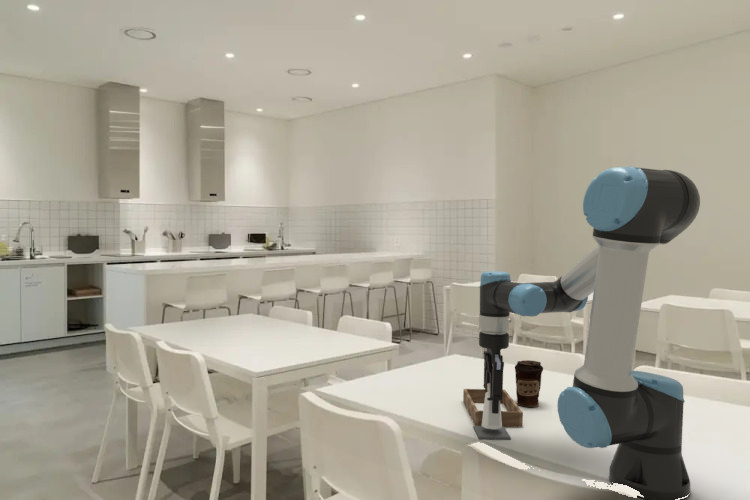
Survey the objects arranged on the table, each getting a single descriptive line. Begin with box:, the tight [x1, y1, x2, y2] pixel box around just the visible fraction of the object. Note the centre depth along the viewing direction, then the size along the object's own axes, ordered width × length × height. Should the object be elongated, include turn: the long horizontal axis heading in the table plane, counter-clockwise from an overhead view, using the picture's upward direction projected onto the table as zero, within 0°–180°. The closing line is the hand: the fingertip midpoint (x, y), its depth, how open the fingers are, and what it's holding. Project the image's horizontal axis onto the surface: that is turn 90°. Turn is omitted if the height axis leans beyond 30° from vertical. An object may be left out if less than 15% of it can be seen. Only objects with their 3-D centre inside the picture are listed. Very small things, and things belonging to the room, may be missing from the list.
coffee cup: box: [514, 359, 544, 408], centre depth 169 cm, size 9×8×13 cm
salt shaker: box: [482, 383, 502, 430], centre depth 144 cm, size 5×5×11 cm
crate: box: [462, 388, 524, 428], centre depth 160 cm, size 22×13×4 cm, turn 0°
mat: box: [472, 425, 512, 441], centre depth 145 cm, size 8×8×1 cm
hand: (492, 421), depth 144 cm, fingers open, 4 cm apart
